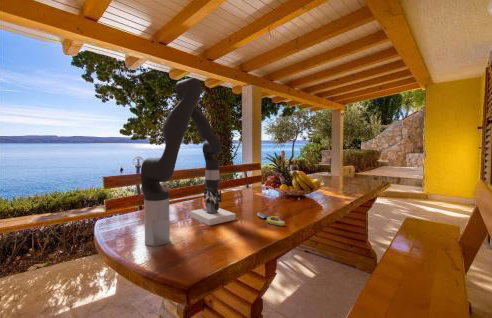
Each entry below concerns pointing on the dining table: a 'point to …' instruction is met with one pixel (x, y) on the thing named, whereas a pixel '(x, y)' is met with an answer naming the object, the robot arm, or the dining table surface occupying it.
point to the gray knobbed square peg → (211, 207)
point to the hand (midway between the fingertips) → (212, 208)
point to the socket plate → (212, 216)
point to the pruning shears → (272, 219)
